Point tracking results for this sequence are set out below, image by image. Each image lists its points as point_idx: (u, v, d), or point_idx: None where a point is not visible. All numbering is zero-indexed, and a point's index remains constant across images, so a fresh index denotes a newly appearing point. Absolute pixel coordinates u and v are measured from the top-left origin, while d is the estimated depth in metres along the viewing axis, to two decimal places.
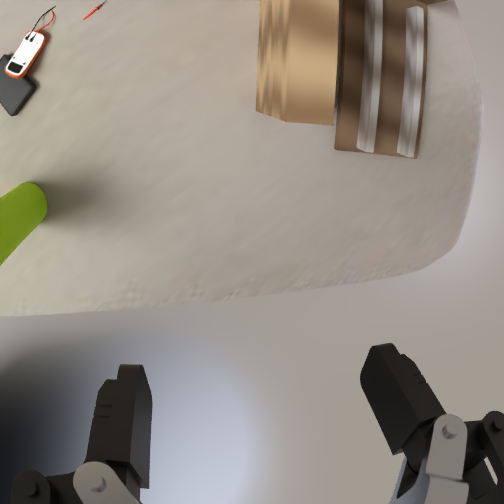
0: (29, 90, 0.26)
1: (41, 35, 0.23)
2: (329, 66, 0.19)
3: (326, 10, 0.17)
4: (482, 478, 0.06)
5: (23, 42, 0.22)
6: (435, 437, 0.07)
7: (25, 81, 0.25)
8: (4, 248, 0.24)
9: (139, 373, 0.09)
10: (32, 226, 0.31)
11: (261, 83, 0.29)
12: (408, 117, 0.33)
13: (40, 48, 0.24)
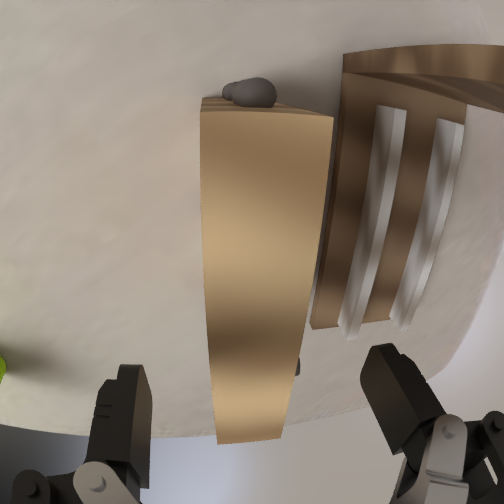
0: None
1: None
2: (278, 396, 0.13)
3: (279, 326, 0.11)
4: (482, 478, 0.06)
5: None
6: (435, 437, 0.07)
7: None
8: None
9: (139, 373, 0.09)
10: None
11: None
12: (410, 286, 0.27)
13: None
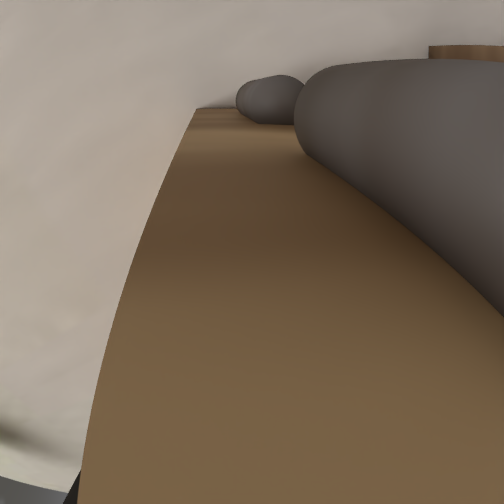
0: None
1: None
2: None
3: None
4: None
5: None
6: None
7: None
8: None
9: None
10: None
11: None
12: None
13: None
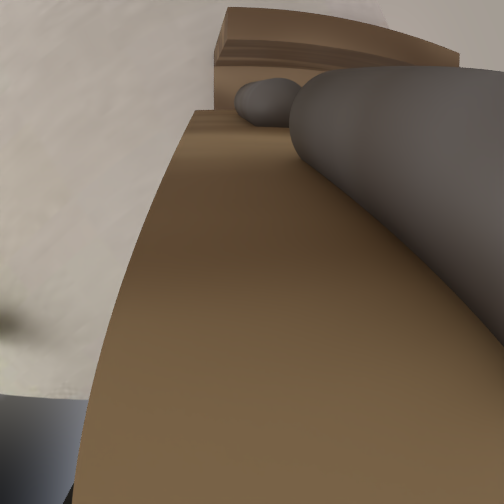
0: None
1: None
2: None
3: None
4: None
5: None
6: None
7: None
8: None
9: None
10: None
11: None
12: None
13: None
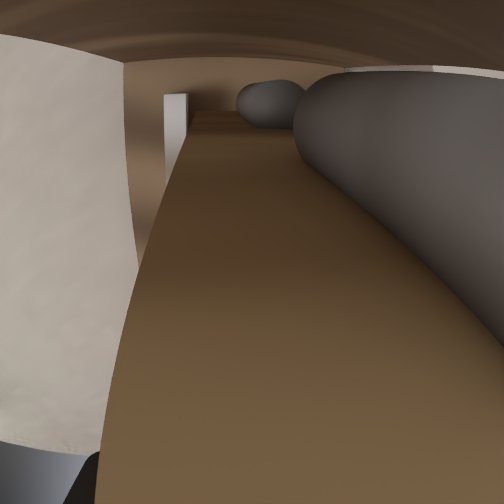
0: None
1: None
2: None
3: None
4: None
5: None
6: None
7: None
8: None
9: None
10: None
11: None
12: None
13: None
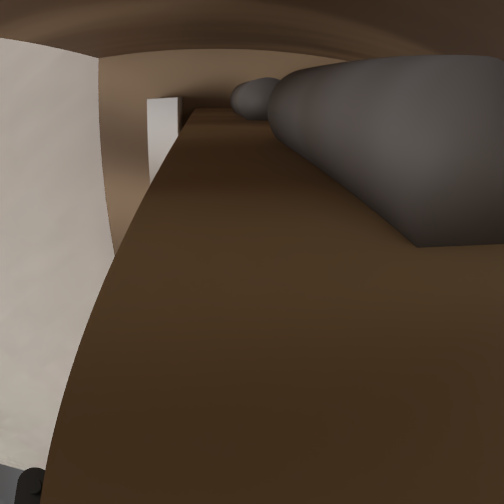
0: None
1: None
2: None
3: None
4: None
5: None
6: None
7: None
8: None
9: None
10: None
11: None
12: None
13: None
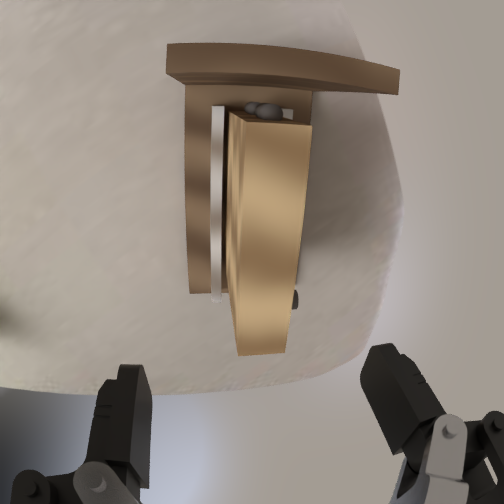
0: None
1: None
2: (283, 306, 0.21)
3: (284, 246, 0.19)
4: (482, 478, 0.06)
5: None
6: (435, 437, 0.07)
7: None
8: None
9: (139, 373, 0.09)
10: None
11: None
12: None
13: None
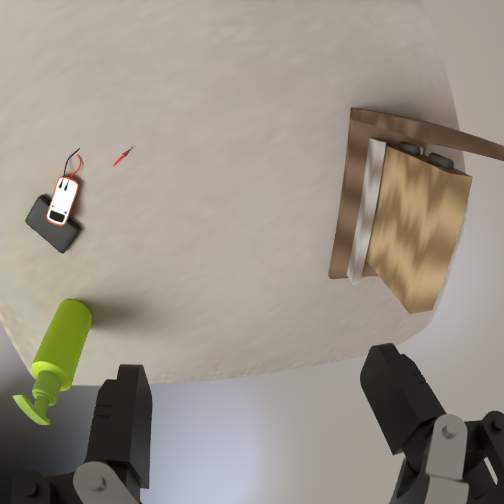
0: (75, 233, 0.37)
1: (74, 181, 0.34)
2: (440, 278, 0.30)
3: (450, 241, 0.28)
4: (482, 478, 0.06)
5: (57, 189, 0.33)
6: (435, 437, 0.07)
7: (69, 225, 0.36)
8: (73, 372, 0.34)
9: (139, 373, 0.09)
10: None
11: (374, 244, 0.40)
12: None
13: (76, 194, 0.35)
